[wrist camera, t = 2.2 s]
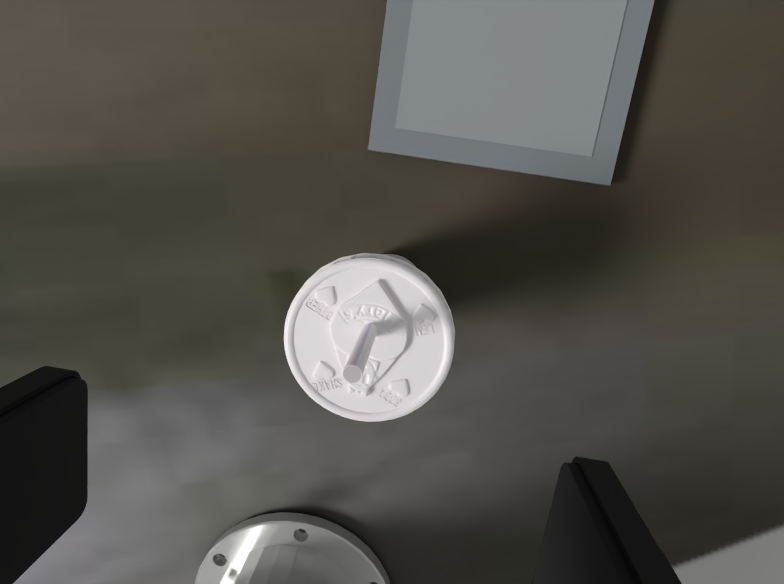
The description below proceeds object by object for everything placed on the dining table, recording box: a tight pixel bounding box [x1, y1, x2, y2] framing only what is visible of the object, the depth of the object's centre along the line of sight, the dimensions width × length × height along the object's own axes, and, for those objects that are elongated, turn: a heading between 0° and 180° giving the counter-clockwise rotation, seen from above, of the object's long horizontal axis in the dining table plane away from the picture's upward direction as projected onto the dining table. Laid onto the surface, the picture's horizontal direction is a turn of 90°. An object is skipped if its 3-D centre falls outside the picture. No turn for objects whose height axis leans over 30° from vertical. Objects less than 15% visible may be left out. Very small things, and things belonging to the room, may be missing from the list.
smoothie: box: [284, 253, 455, 422], centre depth 21 cm, size 6×6×14 cm
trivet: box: [368, 0, 654, 186], centre depth 25 cm, size 12×12×1 cm
